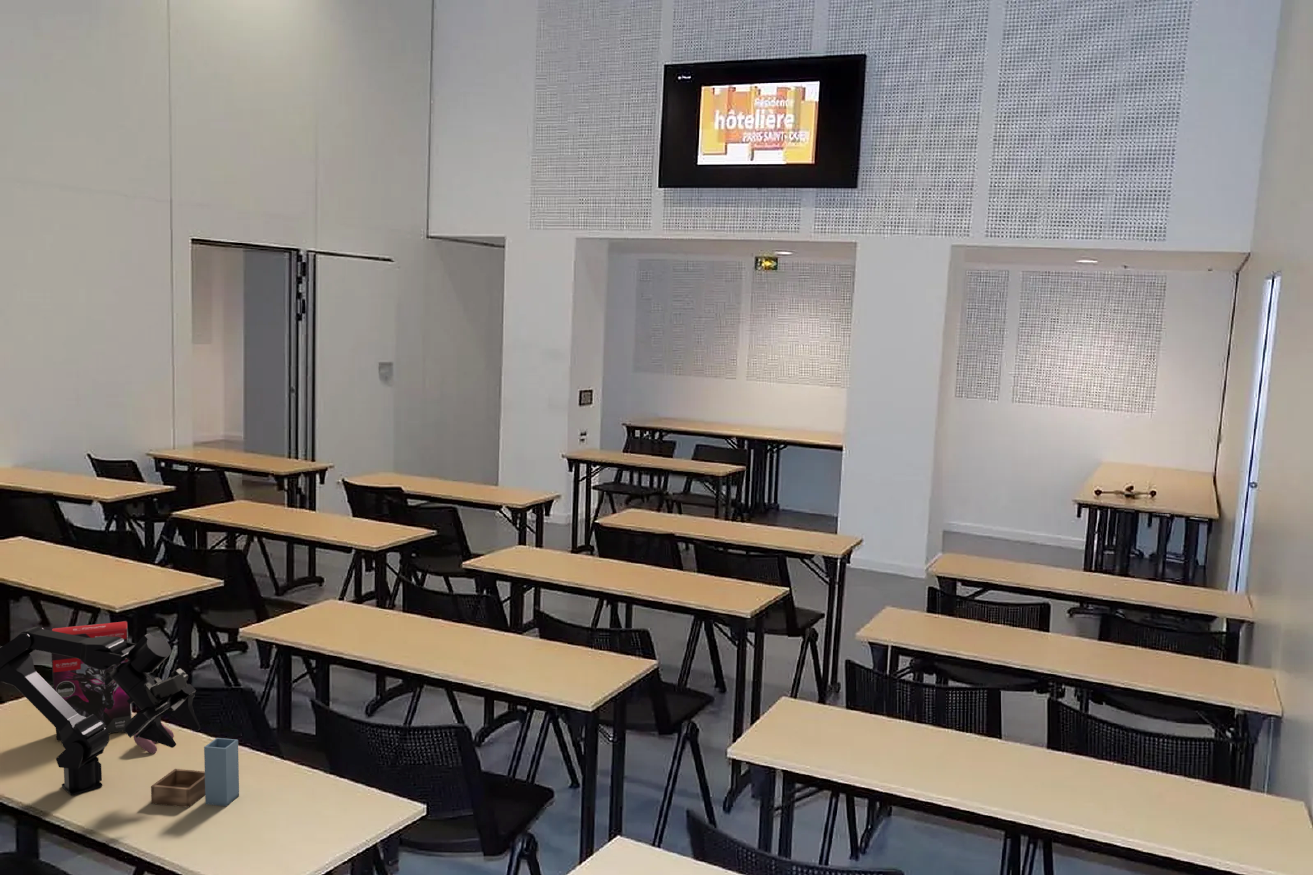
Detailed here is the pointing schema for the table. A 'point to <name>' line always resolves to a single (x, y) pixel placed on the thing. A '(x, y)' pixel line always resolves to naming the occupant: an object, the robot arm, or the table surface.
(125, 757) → the table surface
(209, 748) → the tall slate-blue crate
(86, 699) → the graphics card box
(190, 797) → the walnut crate
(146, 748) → the video game controller
